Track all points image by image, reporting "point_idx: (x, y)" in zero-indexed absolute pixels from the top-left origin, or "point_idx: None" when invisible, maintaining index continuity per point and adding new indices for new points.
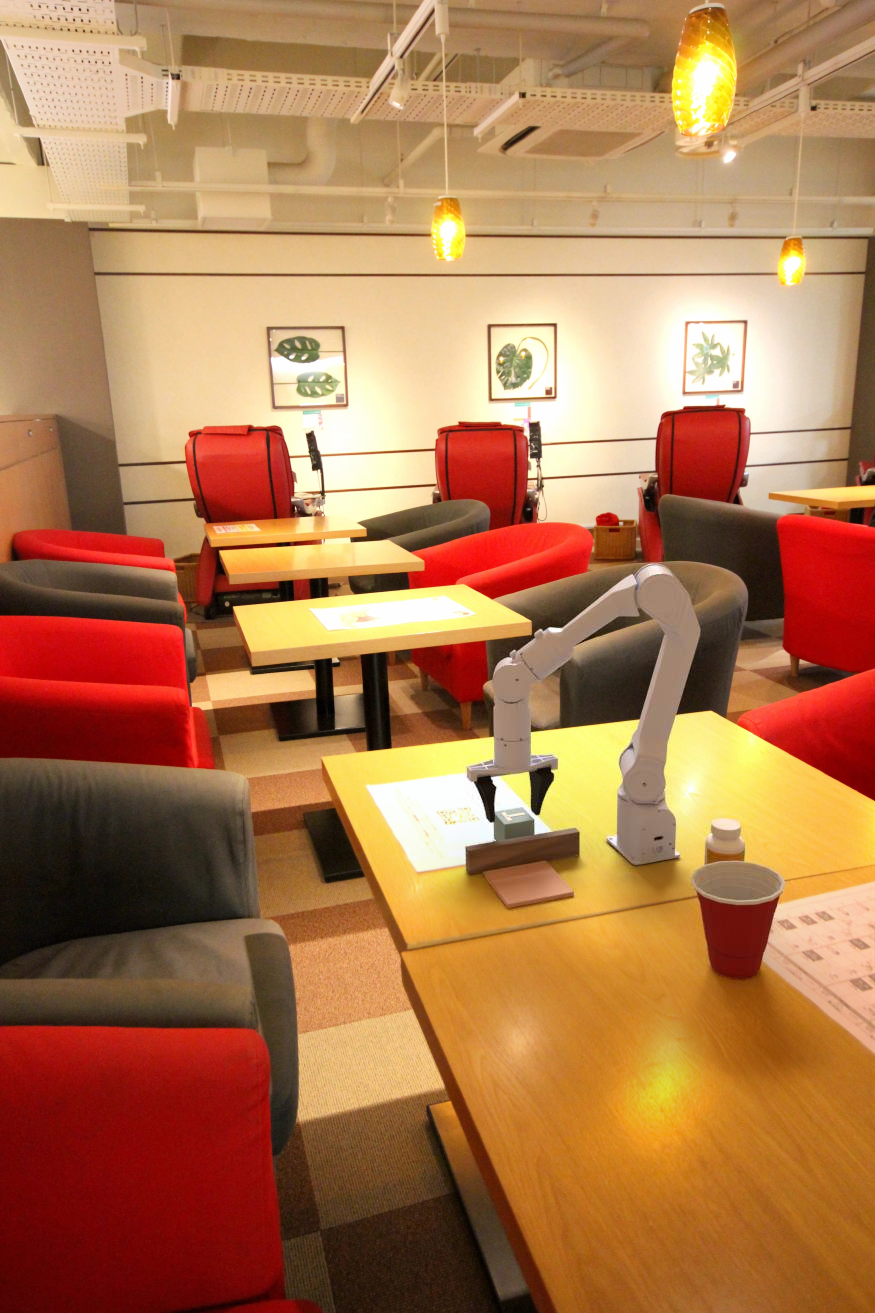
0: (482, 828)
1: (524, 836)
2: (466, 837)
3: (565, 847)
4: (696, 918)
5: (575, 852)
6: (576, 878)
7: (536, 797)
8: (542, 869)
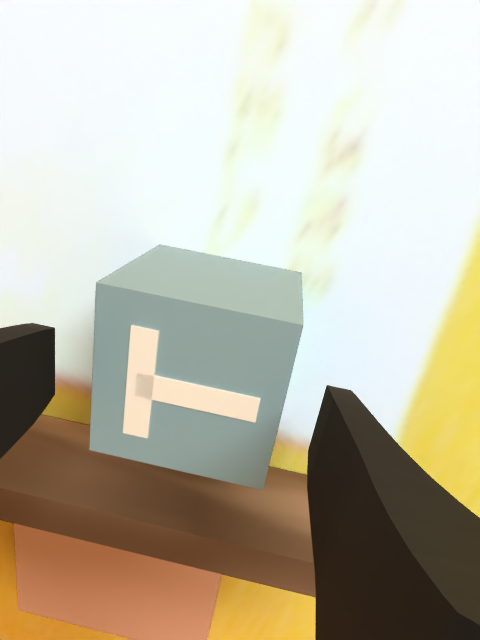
0: (164, 92)
1: (155, 527)
2: (54, 149)
3: None
4: None
5: None
6: (269, 599)
7: (324, 541)
8: None
